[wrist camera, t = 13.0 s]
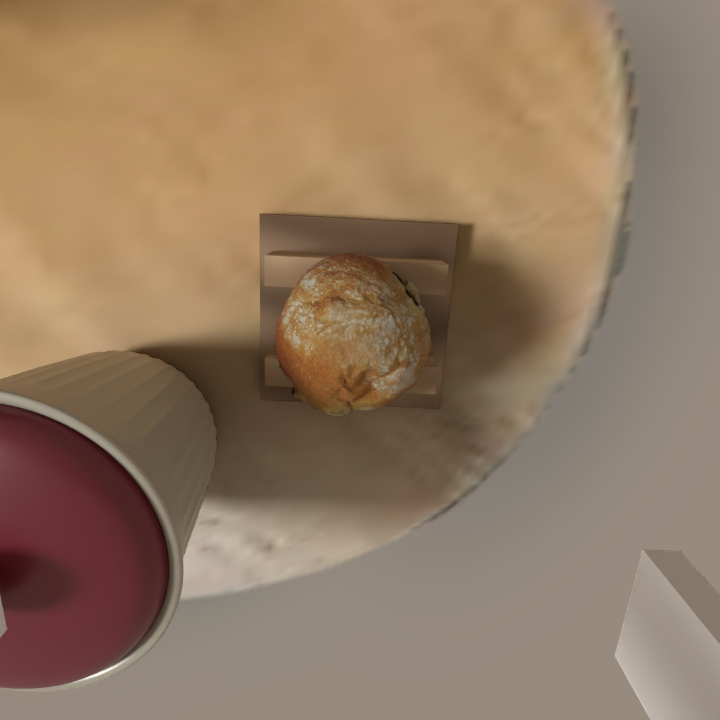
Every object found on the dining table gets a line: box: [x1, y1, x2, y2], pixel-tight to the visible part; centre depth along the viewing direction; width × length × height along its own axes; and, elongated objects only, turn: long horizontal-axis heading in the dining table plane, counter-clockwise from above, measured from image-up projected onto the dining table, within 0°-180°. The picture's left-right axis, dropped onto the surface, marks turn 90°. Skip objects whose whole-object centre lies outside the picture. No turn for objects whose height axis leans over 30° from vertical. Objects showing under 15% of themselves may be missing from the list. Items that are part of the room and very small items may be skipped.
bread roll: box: [275, 253, 432, 417], centre depth 32 cm, size 10×10×8 cm
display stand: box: [260, 214, 458, 409], centre depth 36 cm, size 14×14×4 cm
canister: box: [0, 350, 217, 692], centre depth 31 cm, size 18×18×21 cm
